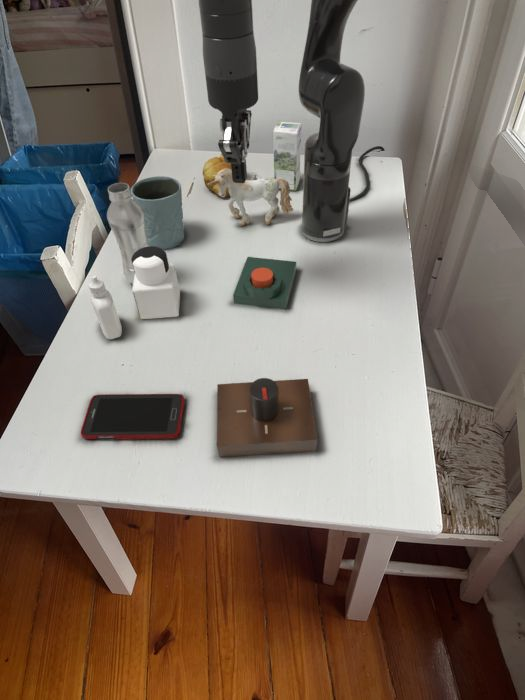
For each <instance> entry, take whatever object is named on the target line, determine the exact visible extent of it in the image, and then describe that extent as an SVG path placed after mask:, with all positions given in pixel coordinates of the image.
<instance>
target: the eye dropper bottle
mask: <svg viewBox="0 0 525 700" xmlns="http://www.w3.org/2000/svg"><path fill="white" fill-rule="evenodd" d="M88 288H89V291H90V293H91V294H90V302H91V305H92V308H93V310H94V313H95V316H96V318H97V321H98V322H99V326H100V329H101V331H102V333H103V335H104V337H105V338H106V339H107V340H114V339H118V338H120V337H121V336H122V333H123V327H122V323H121V320H120V317H119V313H118V311H117V308H116V305H115V303H114V300H113V296H112V294H111V292H110V290H108V289H107V288H106V286H105V282H104V281H103V279H98V277H97V275H91V281H90V282H89V283H88Z"/></svg>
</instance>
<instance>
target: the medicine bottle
mask: <svg viewBox="0 0 525 700" xmlns="http://www.w3.org/2000/svg"><path fill="white" fill-rule="evenodd" d="M131 261H132V265H133V268H134V272H135V276H134V282H133V284H132V289H131V291H132V295H133V298H134V301H135V305H136V308H137V312H138V315H139V318H140V320H151V319H163V318H175V317H176V318H177V317H179V316H180V302H181V290H180V285H179V280H178V275H177V270H176V269H177V268H176V264H175V263H169V260H168V255H167V252H166V251H165V249H161V248H159V247H155V246H149V247H144V248H141V249H139V250H137V251H136V252H135V253H134V254H133V256H132V258H131Z"/></svg>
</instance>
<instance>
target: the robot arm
mask: <svg viewBox="0 0 525 700" xmlns="http://www.w3.org/2000/svg"><path fill="white" fill-rule="evenodd" d="M358 1H359V0H311V3H310V12H309V20H308V28H307V35H306V40H305V45H304V51H303V55H302V62H301V66H300V73H299V79H298V98H299V101H300V104H301V106H302V107H303V108H304V109H305V110H306V111H307V112H308V113H310V114H312V115H313V116H315V117H317V118H319V119H320V120H319V129H318V132H316V133H313V134H311V135H309V136H308V137H307V138H306V140H305V142H304V153H303V154H304V158H303V183H302V184H303V185H302V187H303V188H302V209H301V210H302V213H301V228H300V231H301V233H302V235H303V236H304V237H305V238H306V239H308V240H310V241H312V242H315V243H331V242H334V241H337V240H339V239H341V238H342V237H343V235H344V233H345V229H346V228H347V227H348V226H347V225H348V217H349V216H348V215H349V207H350V203H351V202H353V201H356V200H358V199H360V198H361V197H363V196H364V195H365V194H366V193H367V192H368V190H369V188H370V178H369V173H368V170H367V168H366V167H365V165H364V163H363V162H362V161H363V158H364V157H365V156H367V155H368V154H370V153H371V152H373V151H374V150H381V151H385V147H383V146H381V145H377V146H372V147H371V148H369V149H368V150H366V151H364V152H363V153H362V154H361V155H360V156H359V158H358V164H359V166H360V167H361V170H363V173H364V178H365V187H364V190H363V191H362V192H360V193H359V194H357V195H356V196H354V197H352V198H351V191H352V190H351V188H350V178H351V177H350V176H351V166H352V159H353V150H354V149H355V148H354V147H355V146H356V145H357V144H356V143H357V141H358V138H359V134H360V128H361V122H362V116H363V111H364V106H365V105H364V103H365V95H366V94H365V93H366V90H365V89H366V87H365V80H364V78H363V76H362V74H361V73H360V72H359V71H358V70H357V69H356V68H353V67H351V66H349V65H346V64H344V63H341V54H342V53H341V52H342V46H343V45H342V44H343V39H344V33H345V29H346V27H347V26H346V25H347V23H348V20H349V17H350V15H351V13H352V11H353V9H354V7H355V6H356V5H357V3H358ZM198 9H199V16H200V17H199V18H200V25H201V33H202V34H201V35H202V59H203V66H204V75H205V84H206V91H207V92H206V93H207V101H208V104H209V106H210V107H212V109H215V110H218V111H219V112H220V113H221V118H220V119H219V129H220V132H221V134H222V139H219V140H218V142H217V146H218V148H219V151H220V154H222V155H223V157H224V159H225V161H226V163H231V169H232V180H233V182H234V183H245V181H246V180H247V178H248V171H247V169H248V168H247V160H246V159H247V157H248V150H249V148H250V137H251V123H252V116H253V114H252V110H251V109H250V108H253V107H254V106H255V105H256V104H257V103H258V101H259V82H258V61H257V60H258V58H257V47H256V40H255V32H254V15H253V14H254V13H253V11H254V10H253V0H198Z"/></svg>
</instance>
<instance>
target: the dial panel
mask: <svg viewBox="0 0 525 700" xmlns="http://www.w3.org/2000/svg"><path fill="white" fill-rule="evenodd" d="M273 381H274V382H275V383H276V384H277V386H278V414H277V416H276V417H275V418H274V419H272V420H270V421H260V420H257V419H256V418H255V417H254V416H253V415H252V413H251V402H250V386H251V384H252V383H253V382H254V381H249V382H248V381H247V382H234V383H218V384H217V385H216V386H217V389H216V391H217V393H216V396H217V397H216V401H217V402H216V449H217V454H218V457H219V458H225V457H238V456H255V455H269V454H285V453H301V452H302V453H303V452H317V447H318V435H317V428H316V422H315V415H314V409H313V403H312V402H313V401H312V396H311V390H310V384H309V383H310V382H309V378H299V379H298V378H297V379H281V380H279V379H278V380H273Z"/></svg>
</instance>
